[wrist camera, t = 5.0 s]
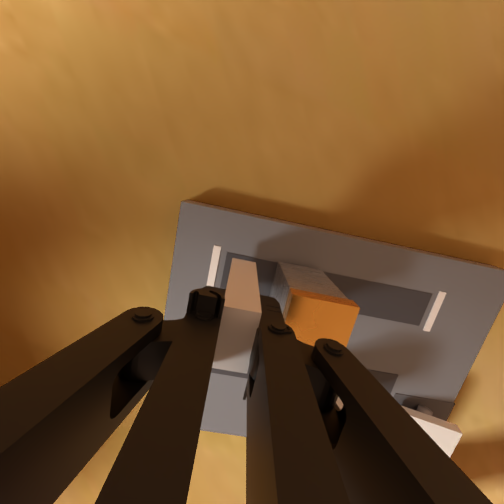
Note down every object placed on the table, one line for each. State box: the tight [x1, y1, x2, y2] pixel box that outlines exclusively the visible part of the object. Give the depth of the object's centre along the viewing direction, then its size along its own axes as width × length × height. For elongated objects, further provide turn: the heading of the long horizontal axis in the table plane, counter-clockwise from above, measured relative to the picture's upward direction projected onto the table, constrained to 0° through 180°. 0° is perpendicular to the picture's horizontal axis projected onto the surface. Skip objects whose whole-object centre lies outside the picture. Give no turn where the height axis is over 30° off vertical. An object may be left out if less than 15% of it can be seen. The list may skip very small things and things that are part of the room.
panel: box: [164, 200, 504, 437], centre depth 20 cm, size 24×18×2 cm
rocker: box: [402, 404, 462, 457], centre depth 20 cm, size 4×5×2 cm
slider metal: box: [269, 261, 360, 347], centre depth 15 cm, size 3×3×6 cm
